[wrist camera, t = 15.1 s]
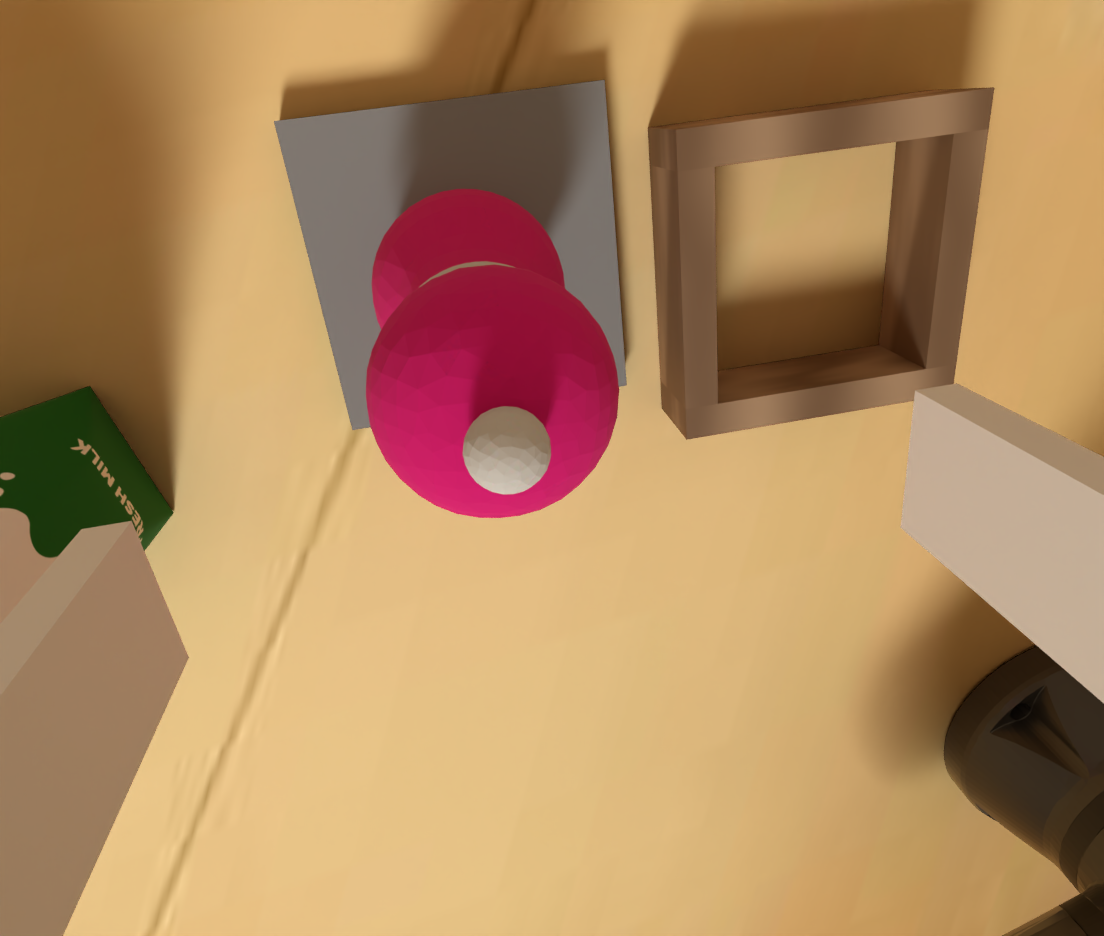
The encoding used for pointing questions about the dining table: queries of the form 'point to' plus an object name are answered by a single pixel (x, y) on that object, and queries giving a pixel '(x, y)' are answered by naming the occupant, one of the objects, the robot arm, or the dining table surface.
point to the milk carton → (65, 486)
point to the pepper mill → (484, 360)
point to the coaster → (446, 164)
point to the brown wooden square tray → (910, 275)
